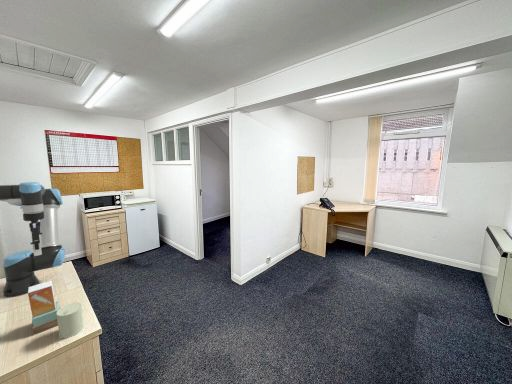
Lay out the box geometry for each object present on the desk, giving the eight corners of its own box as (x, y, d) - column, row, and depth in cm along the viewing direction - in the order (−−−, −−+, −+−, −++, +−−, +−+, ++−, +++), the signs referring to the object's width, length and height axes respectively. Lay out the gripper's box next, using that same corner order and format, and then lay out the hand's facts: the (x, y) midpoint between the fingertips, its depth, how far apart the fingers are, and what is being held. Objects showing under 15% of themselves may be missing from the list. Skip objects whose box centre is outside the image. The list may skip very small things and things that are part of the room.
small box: (32, 317, 98) (27, 293, 96) (33, 310, 103) (28, 286, 100) (56, 309, 104) (51, 285, 101) (56, 302, 108) (51, 279, 106)
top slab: (34, 316, 104) (33, 309, 103) (58, 307, 110) (57, 301, 110) (33, 327, 98) (32, 319, 97) (59, 317, 104) (58, 310, 104)
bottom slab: (33, 324, 104) (32, 317, 104) (60, 314, 111) (59, 307, 111) (33, 336, 98) (32, 328, 97) (62, 324, 105) (61, 317, 104)
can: (54, 340, 95) (51, 317, 93) (63, 326, 103) (61, 304, 102) (80, 334, 99) (77, 311, 97) (86, 321, 107) (84, 299, 105)
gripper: (24, 208, 114) (29, 245, 118) (20, 218, 97) (26, 261, 100) (43, 206, 120) (47, 242, 123) (43, 215, 102) (48, 256, 105)
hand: (38, 250), depth 112 cm, fingers open, 13 cm apart
